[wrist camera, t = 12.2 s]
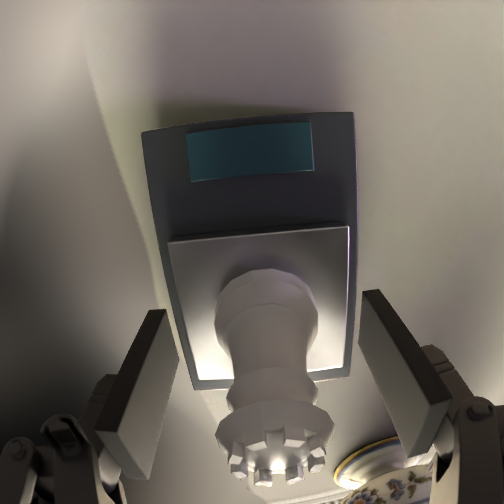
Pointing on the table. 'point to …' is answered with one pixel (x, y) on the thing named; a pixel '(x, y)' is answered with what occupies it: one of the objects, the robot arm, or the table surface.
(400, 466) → the apothecary jar
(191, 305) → the scale pan
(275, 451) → the rook chess piece
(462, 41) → the table surface
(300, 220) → the scale base
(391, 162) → the table surface
